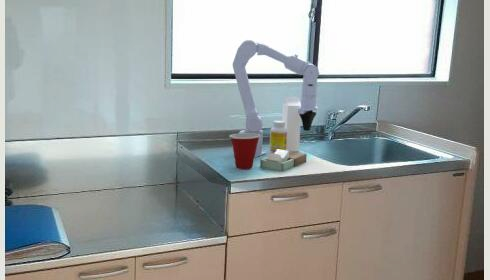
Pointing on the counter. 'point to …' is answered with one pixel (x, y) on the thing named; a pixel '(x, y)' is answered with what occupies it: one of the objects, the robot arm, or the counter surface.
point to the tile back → (283, 154)
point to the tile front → (274, 158)
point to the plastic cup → (244, 149)
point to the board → (297, 158)
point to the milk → (292, 123)
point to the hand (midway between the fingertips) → (306, 130)
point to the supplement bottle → (278, 136)
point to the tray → (276, 164)
